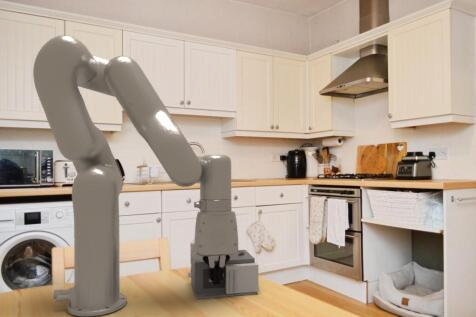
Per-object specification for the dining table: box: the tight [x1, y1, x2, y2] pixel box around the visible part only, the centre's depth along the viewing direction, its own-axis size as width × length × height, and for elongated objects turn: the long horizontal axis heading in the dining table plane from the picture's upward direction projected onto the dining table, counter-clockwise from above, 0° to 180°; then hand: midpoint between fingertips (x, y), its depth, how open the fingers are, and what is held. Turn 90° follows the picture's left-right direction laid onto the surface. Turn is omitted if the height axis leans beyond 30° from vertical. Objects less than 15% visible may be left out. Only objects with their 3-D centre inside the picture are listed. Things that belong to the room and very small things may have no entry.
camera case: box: [190, 249, 258, 300], centre depth 95 cm, size 15×12×9 cm
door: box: [225, 262, 260, 294], centre depth 91 cm, size 8×2×6 cm, turn 102°
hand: (216, 282), depth 89 cm, fingers closed
